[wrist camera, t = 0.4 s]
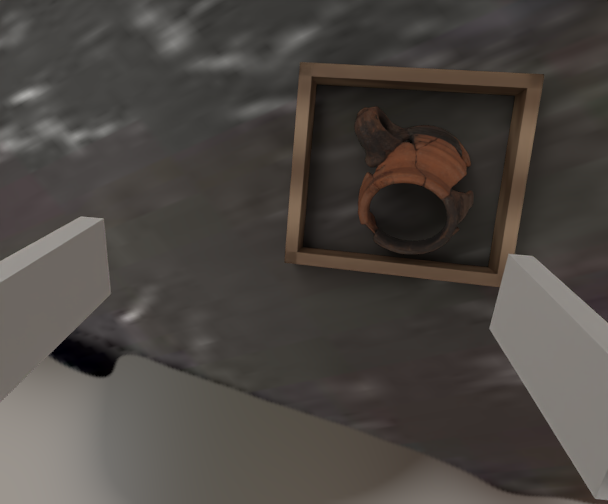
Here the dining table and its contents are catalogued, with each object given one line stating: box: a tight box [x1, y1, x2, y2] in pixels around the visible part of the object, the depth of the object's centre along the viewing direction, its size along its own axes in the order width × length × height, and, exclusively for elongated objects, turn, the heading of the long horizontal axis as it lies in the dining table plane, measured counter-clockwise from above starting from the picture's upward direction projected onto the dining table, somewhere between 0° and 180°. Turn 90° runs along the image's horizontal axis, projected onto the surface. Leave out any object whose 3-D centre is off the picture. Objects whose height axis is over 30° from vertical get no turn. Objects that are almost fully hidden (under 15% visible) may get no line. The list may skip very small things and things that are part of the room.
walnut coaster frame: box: [284, 62, 544, 287], centre depth 37 cm, size 16×18×3 cm
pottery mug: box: [354, 107, 473, 254], centre depth 36 cm, size 12×10×8 cm
